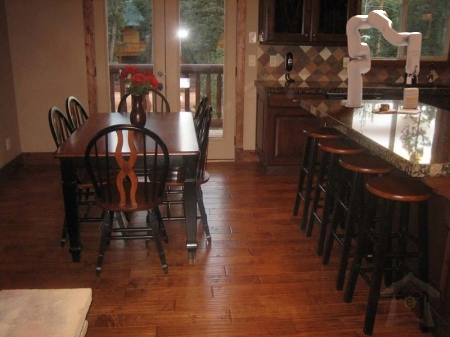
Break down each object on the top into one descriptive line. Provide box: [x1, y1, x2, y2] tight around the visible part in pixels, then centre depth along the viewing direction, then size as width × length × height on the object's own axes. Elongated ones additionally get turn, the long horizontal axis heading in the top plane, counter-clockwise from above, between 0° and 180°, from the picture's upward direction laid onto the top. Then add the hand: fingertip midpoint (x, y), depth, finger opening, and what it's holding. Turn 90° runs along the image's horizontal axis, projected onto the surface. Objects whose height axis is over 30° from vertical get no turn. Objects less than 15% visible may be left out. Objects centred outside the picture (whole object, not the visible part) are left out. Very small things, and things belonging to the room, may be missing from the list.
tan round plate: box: [371, 103, 398, 115], centre depth 293 cm, size 15×15×5 cm
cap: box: [406, 76, 419, 85], centre depth 282 cm, size 6×6×5 cm
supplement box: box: [402, 87, 420, 110], centre depth 301 cm, size 8×5×13 cm, turn 84°
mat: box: [396, 108, 424, 115], centre depth 288 cm, size 12×12×1 cm
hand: (411, 84), depth 283 cm, fingers closed on cap, 6 cm apart
